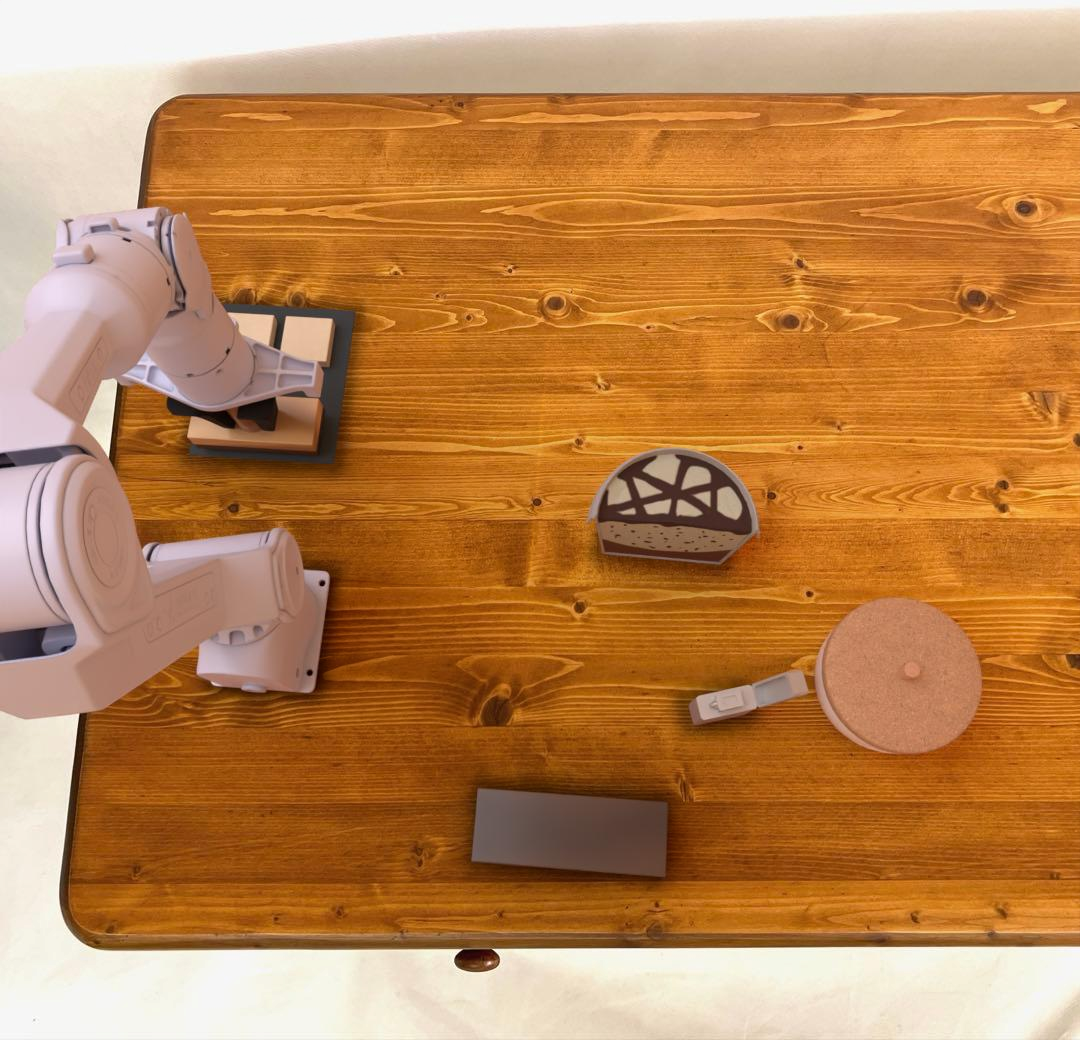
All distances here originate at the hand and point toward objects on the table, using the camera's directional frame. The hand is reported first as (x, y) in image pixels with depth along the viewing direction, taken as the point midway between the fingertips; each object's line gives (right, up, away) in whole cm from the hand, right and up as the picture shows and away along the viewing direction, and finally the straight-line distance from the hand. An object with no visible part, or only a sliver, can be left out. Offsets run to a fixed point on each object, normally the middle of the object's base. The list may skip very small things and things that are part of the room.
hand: (252, 418), depth 77 cm
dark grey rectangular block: (+25, -31, -6) cm, 40 cm away
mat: (0, +3, +5) cm, 6 cm away
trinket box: (+48, -21, -3) cm, 52 cm away
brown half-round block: (+33, -8, +1) cm, 34 cm away
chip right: (+3, +7, +6) cm, 9 cm away
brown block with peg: (0, -1, +3) cm, 3 cm away
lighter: (+38, -22, -3) cm, 44 cm away
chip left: (-2, +7, +6) cm, 9 cm away
